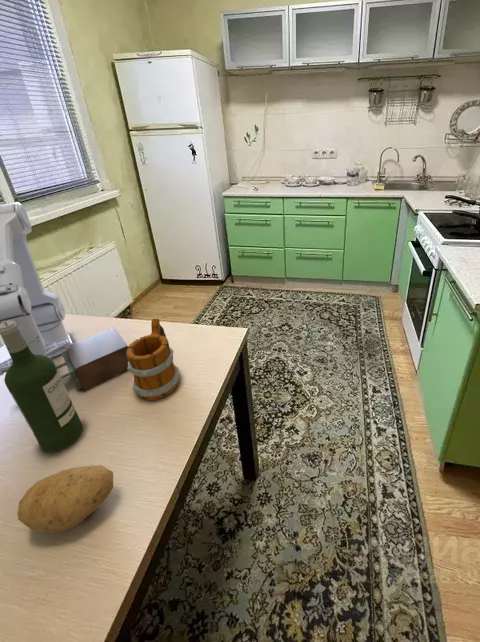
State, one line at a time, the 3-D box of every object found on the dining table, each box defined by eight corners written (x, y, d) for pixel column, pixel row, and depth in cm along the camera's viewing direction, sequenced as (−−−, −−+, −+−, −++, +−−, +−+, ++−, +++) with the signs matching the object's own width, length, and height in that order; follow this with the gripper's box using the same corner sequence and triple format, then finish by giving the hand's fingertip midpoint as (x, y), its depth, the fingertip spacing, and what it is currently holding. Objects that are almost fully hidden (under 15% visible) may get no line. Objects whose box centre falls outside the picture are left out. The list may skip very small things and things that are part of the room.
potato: (117, 524, 55) (104, 497, 52) (21, 557, 52) (0, 530, 48) (124, 470, 64) (113, 444, 60) (41, 495, 60) (25, 469, 56)
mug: (129, 404, 78) (112, 356, 72) (149, 358, 93) (136, 315, 86) (174, 400, 79) (162, 352, 72) (187, 355, 94) (177, 312, 87)
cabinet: (84, 391, 83) (74, 368, 79) (73, 368, 90) (64, 346, 87) (134, 367, 90) (127, 345, 87) (120, 347, 98) (114, 327, 94)
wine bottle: (86, 438, 70) (34, 325, 57) (43, 460, 66) (-25, 344, 53) (80, 415, 76) (31, 307, 63) (39, 434, 72) (-22, 323, 58)
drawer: (55, 400, 79) (46, 382, 76) (48, 377, 86) (40, 361, 83) (124, 367, 89) (118, 351, 86) (112, 349, 96) (107, 333, 93)
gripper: (-14, 362, 68) (11, 407, 74) (65, 333, 77) (82, 376, 83) (-16, 346, 73) (9, 390, 79) (59, 320, 82) (76, 362, 88)
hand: (46, 382), depth 81 cm, fingers closed, pressing on drawer
